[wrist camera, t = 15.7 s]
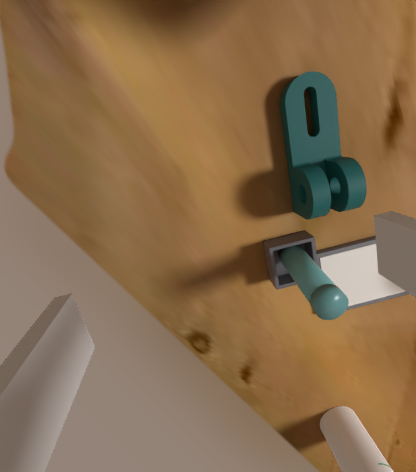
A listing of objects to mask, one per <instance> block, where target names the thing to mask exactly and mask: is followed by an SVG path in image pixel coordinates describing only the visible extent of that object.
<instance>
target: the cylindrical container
mask: <svg viewBox="0 0 416 472" xmlns="http://www.w3.org/2000/svg"><path fill="white" fill-rule="evenodd" d="M320 429H321V431H322V433H323V435H324V437H325V439H326V441H327V443H328V445H329V447H330V449H331V451H332V453H333V455H334V457H335V459H336V461H337V463H338V465H339V467H340V469H341V471H342V472H393V470H392V469H391V467H390V466H389V464H388V463H387V461H386V460H385V458H384V457H383V455H382V453H381V452H380V450H379V449H378V447H377V446H376V444H375V443H374V441H373V440H372V438H371V437H370V435H369V434H368V432H367V431H366V429H365V428H364V426H363V425H362V423H361V422H360V420H359V418H358V417H357V415H356V414H355V412H354V411H353V410H352V409H350V408H349V407H345V406H339V407H335V408H332V409H330V410H328V411H327V412H326V413H325V414H324V415H323V416H322V418H321V420H320Z"/></svg>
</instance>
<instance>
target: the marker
mask: <svg viewBox="0 0 416 472" xmlns="http://www.w3.org/2000/svg"><path fill="white" fill-rule="evenodd" d="M277 252H278V255H279V256H280V261H281V262H282V264H283V265H284V267H285V268H286V270H287V271H288V272H289V274H290V275H291V277H292V278H293V280H294V281H295V282H296V284H297V285H298V287H299V288H300V290H301V291H302V293H303V294H304V295H305V297H306V298H307V300H308V301H309V303H310V305H311V307H312V308H313V310H314V311H315V313H316V314H317V316H318V317H319V318H321V319H324V320H332V319H335V318H337V317H339V316H341V315H342V314H343V313H344V312H345V311H346V309H347V307H348V303H349V301H348V298H347V296H346V295H345V294H344V293H343V292H342V290H341V289H340V288H339V287H338V286H336V285H335V284H334V283H333V282H332V281H331V280H330V278H329V277H328V276H327V275H326V274H325V273H324V272H323V271H322V270H321V268H320V267H319V266H318V265H317V264H316V263H315V262H314V261H313V260H312V258H311V257H310V256H309V255H308V254H307V253H306V252H305V251H304V250H303V248H302V247H301V246H299V245H295V246H291V247H287V248H283V249H279V250H277Z"/></svg>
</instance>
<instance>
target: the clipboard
mask: <svg viewBox="0 0 416 472" xmlns="http://www.w3.org/2000/svg"><path fill="white" fill-rule="evenodd" d="M316 254H317V261H318V266H319V267H320V268H321V270H322V271H323V272H324V273H325V274H326V275H327V276H328V277H329V278H330V280H331V281H332V282H333V283H334V284H335V285H336V286H338V287H339V288H340V289H341V290H342V292H343V293H344V294H345V295H346V296H347V298H348V301H349V303H348V307H347V309H346V310H349V309H353V308H357V307H361V306H365V305H368V304H372V303H376V302H380V301H384V300H388V299H391V298H395V297H399V296H403V295H407V294H409V293H408V292H406V291H405V290H403V289H402V288H400V287H399V286H397V285H396V284H394V283H393V282H391V281H389V280H388V279H386V278H385V277H383V276H382V275H380V274H379V273H378V263H377V249H376V236H373V237H369V238H365V239H361V240H357V241H354V242H350V243H346V244H342V245H338V246H334V247H330V248H326V249H322V250H318V251H316Z"/></svg>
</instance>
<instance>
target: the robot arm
mask: <svg viewBox="0 0 416 472" xmlns="http://www.w3.org/2000/svg"><path fill="white" fill-rule="evenodd" d="M374 221H375V235H376V249H377V263H378V273H379V274H380V275H382V276H383V277H385V278H386V279H388V280H389V281H391V282H393V283H394V284H396V285H397V286H399V287H400V288H402V289H403V290H405V291H406V292H408V293H409V294H411V295H412V296H414V297H416V219H414V218H411V217H408V216H405V215H402V214H399V213H396V212H393V211H390V212H386V213H382V214H378V215H374ZM94 348H95V346H94V344H93V341H92V339H91V337H90V334H89V332H88V329H87V327H86V325H85V322H84V320H83V317H82V315H81V313H80V310H79V308H78V306H77V303H76V301H75V299H74V296H73V294H72V293H71V294H67V295H63V296H59V297H55V298H54V299H53V300H52V302H51V303H50V304H49V305H48V306H47V308H46V309H45V310H44V311H43V313H42V314H41V315H40V316H39V318H38V319H37V320H36V321H35V323H34V324H33V325H32V327H31V328H30V329H29V331H28V332H27V333H26V334H25V336H24V337H23V338H22V339H21V340H20V342H19V343H18V344H17V345H16V347H15V348H14V349H13V351H12V352H11V353H10V354H9V356H8V357H7V358H6V359H5V361H4V362H3V363H2V364H1V366H0V472H45V469H46V467H47V464H48V462H49V459H50V457H51V455H52V452H53V450H54V447H55V445H56V442H57V440H58V437H59V434H60V432H61V430H62V427H63V425H64V422H65V420H66V417H67V415H68V412H69V410H70V408H71V405H72V402H73V400H74V398H75V395H76V393H77V390H78V388H79V385H80V383H81V380H82V378H83V375H84V373H85V370H86V368H87V365H88V363H89V360H90V358H91V356H92V353H93V350H94Z"/></svg>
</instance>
